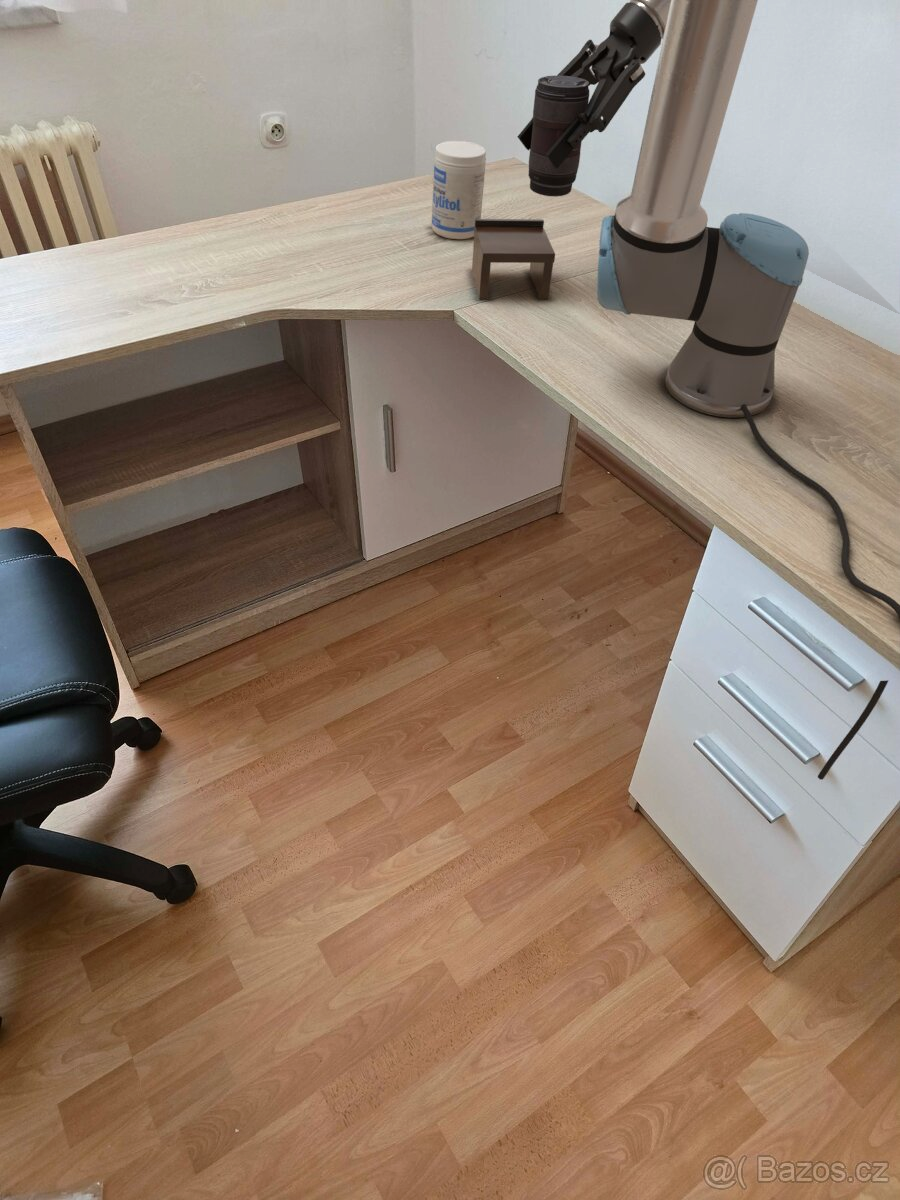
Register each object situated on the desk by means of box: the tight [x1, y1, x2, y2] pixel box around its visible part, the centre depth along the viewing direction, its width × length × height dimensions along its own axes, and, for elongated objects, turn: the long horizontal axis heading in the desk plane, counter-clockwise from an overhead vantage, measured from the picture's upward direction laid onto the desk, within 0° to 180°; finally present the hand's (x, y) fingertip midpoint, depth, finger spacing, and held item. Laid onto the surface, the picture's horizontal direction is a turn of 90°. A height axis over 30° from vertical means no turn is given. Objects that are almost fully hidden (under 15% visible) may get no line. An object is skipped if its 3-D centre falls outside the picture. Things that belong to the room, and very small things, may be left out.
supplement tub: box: [431, 140, 487, 240], centre depth 148 cm, size 10×10×15 cm
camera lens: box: [528, 75, 590, 197], centre depth 121 cm, size 8×8×15 cm
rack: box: [471, 218, 556, 301], centre depth 134 cm, size 12×12×9 cm
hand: (536, 152), depth 121 cm, fingers closed on camera lens, 8 cm apart
